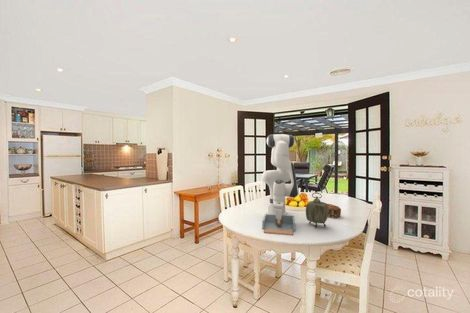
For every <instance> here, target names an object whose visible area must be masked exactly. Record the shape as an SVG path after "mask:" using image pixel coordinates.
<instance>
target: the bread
mask: <svg viewBox="0 0 470 313" xmlns="http://www.w3.org/2000/svg"><path fill="white" fill-rule="evenodd" d="M326 204H327V206H328V217H327V218H333V219H338V218H339V217H341V216H342V215H341V214H342V208H340V207H339V206H338V205H334V204H332V203H326Z"/></svg>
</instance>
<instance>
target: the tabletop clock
mask: <svg viewBox="0 0 470 313" xmlns="http://www.w3.org/2000/svg"><path fill="white" fill-rule="evenodd" d="M315 194H317V195H320V197H319V196H314V195H315ZM311 197H312V198H314V199H313V200H310V201H308V202H307V204H306V206H305V217H306V220H307V221H308V224H312V223H314V224H315V225H314V227H315V228H317V227H318V224H323V226H324V227H326V226H327V224H326V222H327V220H328V218H329V217H328V206H327V204H328V203H326V202H323V201H321V200H320V199H321V198H322V197H323V195H322V194H321V193H319V192H313V193H312V194H311Z"/></svg>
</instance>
